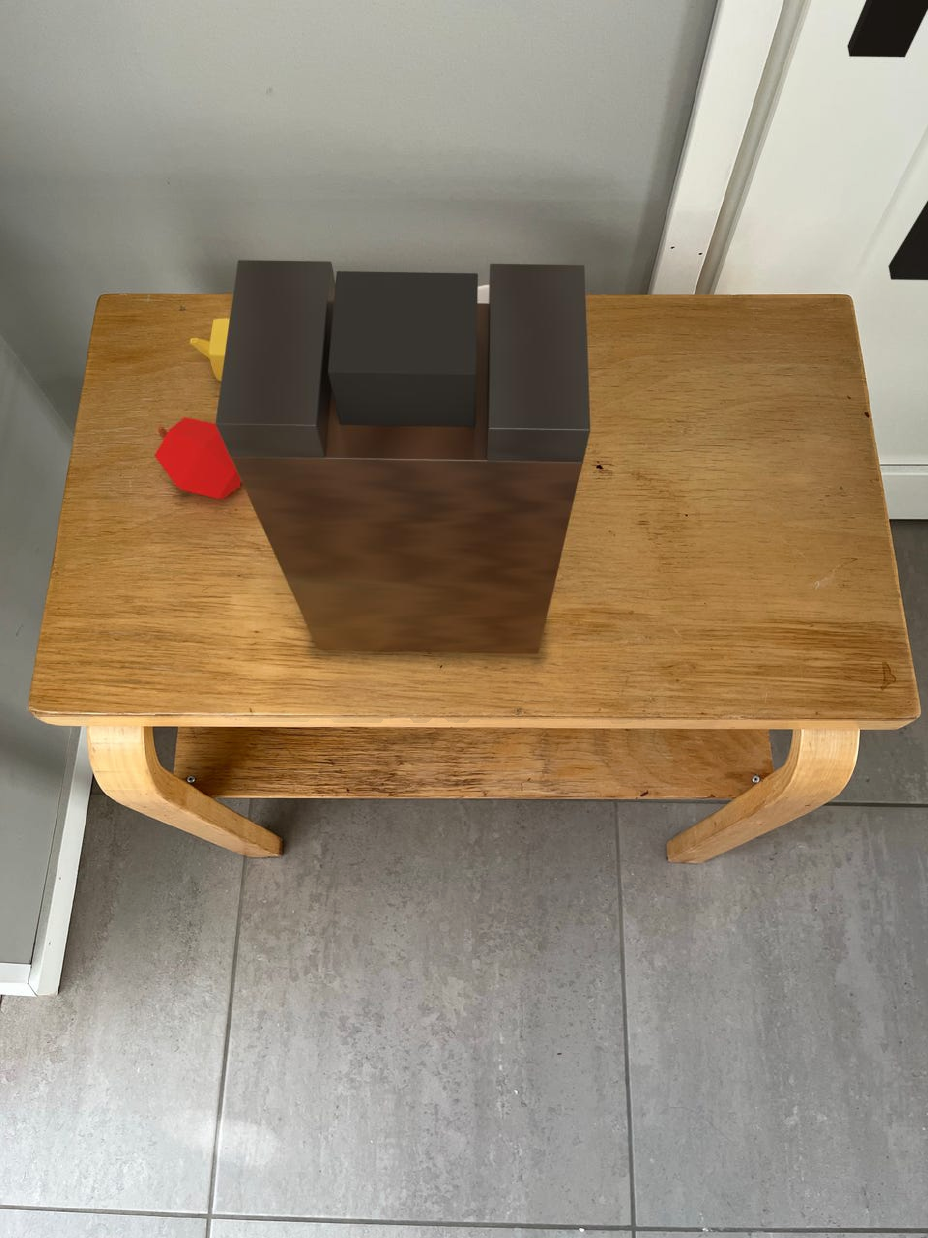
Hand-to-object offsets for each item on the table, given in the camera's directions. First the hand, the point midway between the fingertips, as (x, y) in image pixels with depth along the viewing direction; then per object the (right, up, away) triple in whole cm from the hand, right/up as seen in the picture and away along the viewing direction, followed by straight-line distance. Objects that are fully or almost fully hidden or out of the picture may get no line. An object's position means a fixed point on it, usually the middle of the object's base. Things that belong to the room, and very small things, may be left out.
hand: (896, 156), depth 42 cm
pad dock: (-23, -19, +34) cm, 45 cm away
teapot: (-40, +1, +42) cm, 58 cm away
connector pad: (-23, -9, +6) cm, 25 cm away
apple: (-42, -9, +38) cm, 58 cm away
